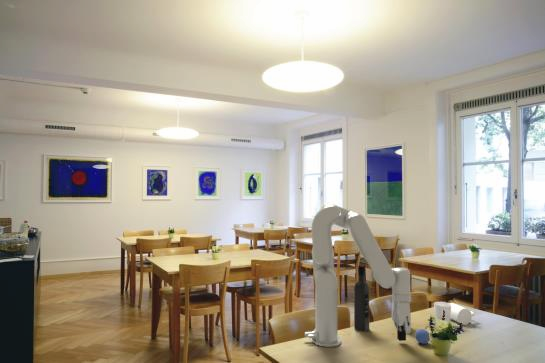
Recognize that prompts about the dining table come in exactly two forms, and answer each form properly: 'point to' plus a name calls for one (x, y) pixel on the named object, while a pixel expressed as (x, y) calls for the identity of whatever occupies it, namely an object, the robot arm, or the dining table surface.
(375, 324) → the dining table surface
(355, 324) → the wine bottle
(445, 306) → the white cup
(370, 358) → the dining table surface
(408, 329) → the pin
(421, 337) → the ball
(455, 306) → the mug
